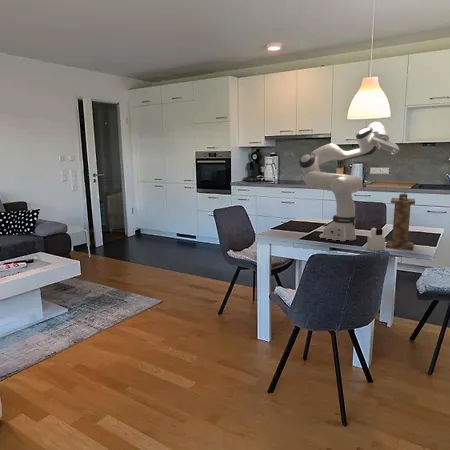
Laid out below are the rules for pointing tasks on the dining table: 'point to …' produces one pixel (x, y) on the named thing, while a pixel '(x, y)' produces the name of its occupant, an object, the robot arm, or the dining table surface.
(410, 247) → the walnut stand
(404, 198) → the wooden wick
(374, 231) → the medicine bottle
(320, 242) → the dining table surface
